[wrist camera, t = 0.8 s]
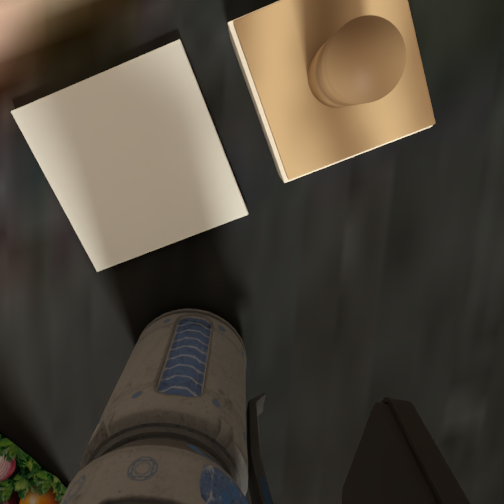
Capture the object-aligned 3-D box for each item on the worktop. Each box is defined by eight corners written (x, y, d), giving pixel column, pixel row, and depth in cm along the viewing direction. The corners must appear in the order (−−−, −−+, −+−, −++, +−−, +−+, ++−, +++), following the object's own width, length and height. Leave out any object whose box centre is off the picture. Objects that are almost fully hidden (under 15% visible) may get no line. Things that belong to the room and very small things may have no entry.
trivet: (181, 41, 30) (179, 39, 29) (248, 212, 34) (248, 214, 33) (16, 111, 31) (10, 111, 30) (100, 268, 35) (97, 271, 35)
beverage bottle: (260, 404, 40) (288, 813, 16) (127, 387, 39) (-50, 796, 15) (279, 313, 37) (347, 654, 13) (135, 293, 36) (-69, 621, 12)
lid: (389, -41, 25) (445, -104, 18) (427, 123, 28) (488, 123, 21) (233, 25, 26) (230, -10, 19) (287, 177, 29) (301, 194, 22)
